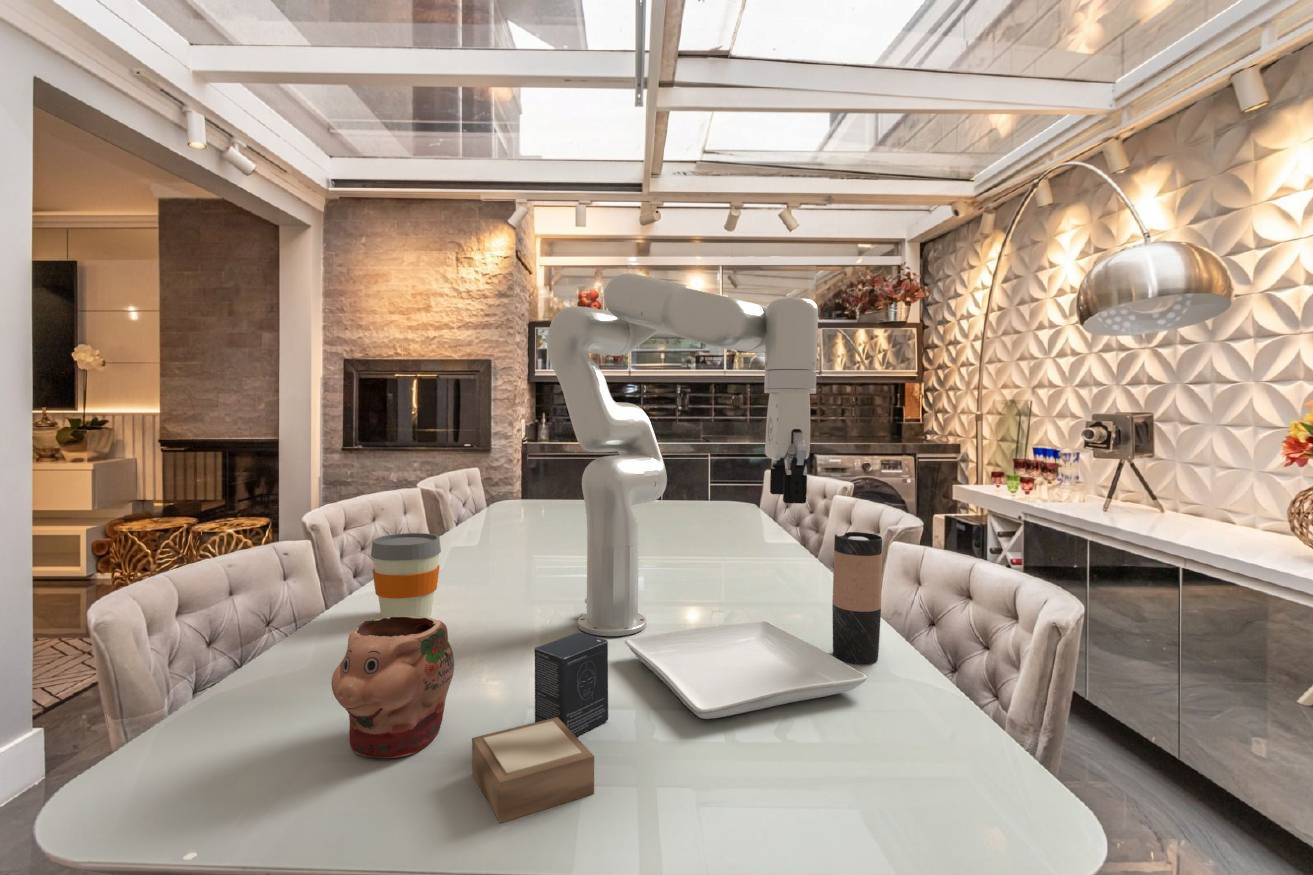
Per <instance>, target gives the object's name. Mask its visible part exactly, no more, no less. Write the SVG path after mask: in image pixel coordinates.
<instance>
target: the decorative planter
mask: <svg viewBox="0 0 1313 875" xmlns="http://www.w3.org/2000/svg"><path fill="white" fill-rule="evenodd" d="M454 657H455V656H454V652H453V648H452V646H451V644H450V642H449V634H448V628H447V625H446V623H444V622H443V621H442V620H438V619H434V618H432V617H429V618H427V617H415V616H399V617H387V618H377V619H372V620H364V621H363V622H362V623H360V624H359V625H358V626H357V627H356V628H355V629H354V630H353V631H352V632H350V634H349V635H348V639H347V648H346V652H345V656H344V658H343V659H342V660H341V662H339V665H338V666H337V667H336V668H335V670H334V671H333V673H332V677H331V691H332V694H333V696H334V698H335V699H336V701H337V702H338V704H339V705H340V706H341V707H342V708H344V709H345V710H346V712H347V713H348V718H349V719H348V720H349V730H348V731H349V732H348V733H349V734H348V736H349V746H350V749H351V751H353V752H355V754H358V755H360V756H363V757H367V758H377V759H393V758H394V759H395V758H401V757H407V756H410V755H413V754H416V753H418V752H419V751H422V750H424V749H425V748H426V747H428V746H429V745H430V744H431V743H432V742H433V741H434V740H435V738H436V737H437V736H438V735H439V733H440V728H441V726H442V722H443V717H444V712H445V705H446V700H447V695H448V692H449V688H450V686H451V682H452V680H453V677H454V672H455V658H454Z"/></svg>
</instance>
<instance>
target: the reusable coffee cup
mask: <svg viewBox="0 0 1313 875" xmlns="http://www.w3.org/2000/svg"><path fill="white" fill-rule="evenodd" d="M371 541H372V542H371V543H372V544H371V552H370V557H371V558H372V559H373V560H372V561H373V569H372V577H373V578H372V580H373V586H374V591H375V595H376V596H377V597H378V602H379V610H380V615H381V618H387V617H399V616H415V617H427V618H431V616H432V612H433V611H432V610H433V602H434V596H435V591H437V589H438V582H439V574H440V565H439V557H440V554H441V552H442V550H441V549H442V547H441V541H440V536H439V535H437V534H435V533H433V534H432V533H424V532H423V533H421V532H407V533H406V532H405V533H394V534H389V535H382V536H378V537H376V538H374V539H373V540H371ZM381 618H380V619H381Z"/></svg>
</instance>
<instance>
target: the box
mask: <svg viewBox="0 0 1313 875" xmlns="http://www.w3.org/2000/svg"><path fill="white" fill-rule="evenodd" d="M608 654H609V641H608V640H607V639H603V638H600V637H597V636H595V635H592V634H589V633H586V632H582V631H581V632H580V631H578V632H576V633H572V634H570V635H567V636H564V637H561V638H559V639H555V640H553V641H550V642H547V643H544V644H542V645H540V646H536V647H535V648H534V723H536V722H540V721H544V720H548V719H552V718H556V717H558V718H559V719H560V720H561V721H562V722H563V723H564V724H565V726H566V727H567V728H568V729H569V730H570V731H571V732H572V733H573V734H574V735H575V736H576V737H578V736H580V735H582V734H584V733H585V732H588V731H589V730H591V729H593V728H596V727H597V726H599V725H601V724H603V723H605V722H606V721H608V720H609V655H608Z"/></svg>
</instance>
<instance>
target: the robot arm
mask: <svg viewBox="0 0 1313 875" xmlns="http://www.w3.org/2000/svg"><path fill="white" fill-rule="evenodd" d="M603 293H604V294H603V299H604V303H605V304H604V305H605V306H606V308H607V310H605V309H599V308H595V307H594V308H593V307H589V306H571V307H565V308H563V309H562V310H560V311H558V312H557V313H556V314H555V316H553V318H552V321H551V323H550V325H549V328H548V331H547V338H546V339H547V341H546V342H547V354H548V357H549V361H550V364H551V366H552V369H553V371H554V374H555V376H556V378H557V380H558V382H559V384H560V387H561V391H562V393H563V397H564V401H565V404H566V407H567V411H568V414H569V418H570V421H571V424H572V429H573V431H574V434H575V438H576V440H577V442H578V444H579V445H580V447H581V448H582V449H583V450H585V451H586V452H590V453H606V452H607V453H608V452H618V454H619V455H618V454H616V455H606V456H601V457H598V458H596V459H594V460H592V461H591V462H589V464H588V465H587V466H586V467H585V469H584V471H583V474H582V477H581V488H582V495H583V499H584V507H585V514H586V545H587V546H586V597H585V599H584V603H585V604H586V613H585V614H583V615H581V616H580V617H579V618H578V619H577V620H578V621H577V626H578V628H579V630H581V632H583V633H585V634H588V635H592V636H599V637H600V636H601V637H622V636H630V635H632V634H633V635H634V634H636V633H639V632H641V631H643V630H644V629H645V628H646V626H647V619H646V617H645V616H644V615H643V614H642V613H639V557H640V556H639V554H640V553H639V552H640V551H639V545H640V544H639V540H640V539H639V538H640V537H639V536H640V535H639V526H638V523H637V520H636V517H635V515H634V513H633V509H632V507H631V506H633V505H634V506H635V505H640V504H641V505H642V504H648V503H651V502H654V501H657V500H659V498H660V497H661V496H663V495H664V493H665V490H666V488H667V484H668V483H667V482H668V476H667V470H666V465H665V462H664V459H663V457H662V452H661V450H660V446H659V444H658V440H657V438H656V434H655V432H654V429H653V426H652V423H651V420H650V418H649V416H648V415H647V413H646V412H645V411H644V410H643V409H642V408H641V407H640V406H638V405H636V404H635V403H630V402H619V401H618V402H616V401H615V400H614V398H613V397H612V394H611V392H610V389H609V387H608V384H607V380H606V377H605V375H604V373H603V372H602V370H601V369H600V367H599V366H598V365H597V364H596V363H595V361H594V360H593V359H592V358H591V356H590V354H593V355H594V354H595V355H603V356H604V355H605V356H611V357H612V356H614V357H615V356H617V357H618V356H624V355H627V354H629V353H630V352H632V351H633V350H635V349H636V348H638V347H639V346H640V345H641V344H644V343H645V342H646V341H647V340H649V339H650V338H651V337H653V336H654V335H656V334H657V333H658V332H662V333H665V334H668V335H671V336H677V337H679V338H683V339H687V340H689V341H693V342H697V343H701V344H703V345H707V346H710V347H714V348H719V349H725V350H731V351H732V350H734V351H739V352H745V353H753V354H757V353H759V354H760V353H765V354H764V390H763V391H764V394H769V395H768V403H767V413H766V425H765V426H766V427H765V428H766V429H765V442H764V454H765V456H766V457H767V458H770V459H771V462H770V467H771V468H770V474H769V475H770V477H769V478H770V481H769V482H770V483H769V493H770V494H771V495H782V501H783V503H785V504H801V505H803V504H805V503H807V487H808V483H807V482H808V467H807V464H808V462H807V461H808V458H809V457H810V451H811V450H810V449H811V448H810V447H811V400H810V399H811V396H810V394H811V395H814V394H817V368H818V367H817V366H818V365H817V363H818V362H817V361H818V332H819V331H818V330H819V329H818V328H819V309H818V308H819V307H818V305H817V304H816V302H815V301H814V300H811V299H809V298H802V297H783V298H776V299H775V300H772V301H771V302H770V303H768V305H763V304H759V303H754V302H750V301H747V300H743V299H739V298H734V297H731V296H724V295H720V294H715V293H710V292H706V291H702V290H697V289H694V288H693V289H692V288H691V287H690V286H689V285H687V284H684V283H680V282H679V283H678V282H674V281H669V280H666V279H665V280H664V279H660V278H656V277H651V276H647V275H641V274H637V273H629V272H628V273H621V274H619V275H615V277H613V278H612V279H611V280H609V282H608V283H607V284H606V286H605V289H604V292H603Z"/></svg>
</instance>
